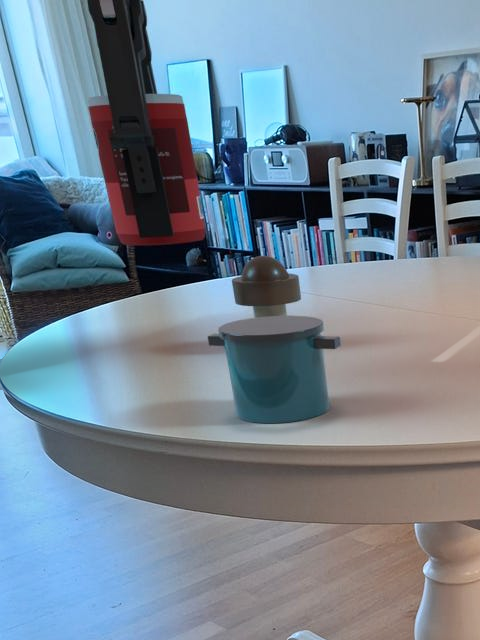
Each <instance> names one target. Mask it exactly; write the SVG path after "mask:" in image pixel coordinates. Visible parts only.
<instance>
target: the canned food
mask: <svg viewBox="0 0 480 640" xmlns="http://www.w3.org/2000/svg"><path fill="white" fill-rule="evenodd" d="M145 96H146V102H147V107H148V112H149V119H150V126H151V132H152V135H153V137H154V143H153V147H148V148H157V150H158V156H159V161H160V166H161V171H162V176H163V182H164V187H165V192H166V197H167V202H168V208H169V213H170V218H171V223H172V228H173V234H174V236H164V237H147V238H140V236H139V231H138V226H137V222H136V217H135V212H134V207H133V203H132V198H131V193H130V188H129V184H128V179H127V174H126V169H125V165H124V160H123V155H122V150H123V149H128V148H120V149H112V147H111V144H110V141H109V137H112V136H115V134H114V132H113V128H112V126H113V121H112V116H111V111H110V105H109V100H108V95H107V94H106V95H97V96H89V97H88V98H87V106H88V107H87V108H88V112H89V117H90V122H91V127H92V132H93V136H94V141H95V145H96V149H97V154H98V158H99V162H100V167H101V171H102V177H103V181H104V184H105V189H106V193H107V198H108V203H109V207H110V210H111V216H112V219H113V225H114V229H115V233H116V235H117V237H118V239H119V241H120V243H121V244H122V245H124V246H162V245H164V246H165V245H175V244H176V245H177V244H186V243H193V242H199V241H203V240H204V239H205V237H206V229H207V228H206V221H205V215H204V210H203V209H204V208H203V205H202V197H201V192H200V187H199V181H198V175H197V169H196V163H195V157H194V151H193V145H192V139H191V134H190V128H189V122H188V118H187V111H186V105H185V103H184V99H183V96H182V95H180V94H173V93H157V94H145Z"/></svg>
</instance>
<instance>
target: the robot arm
mask: <svg viewBox="0 0 480 640" xmlns="http://www.w3.org/2000/svg"><path fill="white" fill-rule="evenodd" d="M86 3H87V10H88V13H89V16H90V18H91V20H92V22H93V26H94V27H93V28H94V32H95V37H96V45H97V48H98V53H99V58H100V62H101V63H100V64H101V68H102V74H103V78H104V83H105V89H106V95H108V100H109V105H110V111H111V116H112V121H113V126H112V128H113V132H114V134H115V136H112V137H109V141H110V144H111V147H112V149H120V148H128V149H123V150H122V155H123V160H124V165H125V169H126V174H127V179H128V184H129V188H130V193H131V198H132V203H133V207H134V212H135V217H136V222H137V226H138V231H139V236H140V238H147V237H164V236H174V234H173V228H172V223H171V218H170V213H169V208H168V202H167V197H166V192H165V187H164V182H163V176H162V171H161V166H160V161H159V156H158V150H157V148H148V147H153V143H154V137H153V135H152V132H151V126H150V119H149V112H148V107H147V102H146V96H145V94H158V90H157V85H156V79H155V74H154V71H153V70H154V69H153V64H152V58H153V57H152V55H153V54H152V48H151V44H150V40H149V34H148V29H147V26H148V15H147V10H146V6H145V2H144V0H86Z"/></svg>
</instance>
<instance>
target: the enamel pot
mask: <svg viewBox="0 0 480 640" xmlns="http://www.w3.org/2000/svg"><path fill="white" fill-rule="evenodd" d="M324 330H325V323H324V320H323V319H320V318H318V317H313V316H307V315H306V316H305V315H287V316H269V317H258V318H254V317H252V318H244V319H239V320H235V321H230V322H227V323H225V324H222V325H220V326H219V327H218V329H217V332H218V333H212V334H210V335H207V341H208V346H209V347H224V350H225V351H224V352H225V357H226V362H227V363H226V364H227V369H228V374H229V380H230V386H231V393H232V399H233V403H234V409H235V415H236V417H237V418H238V419H240V420H241V421H246V422H249V423H257V424H282V423H283V424H284V423H292V422H293V423H294V422H300V421H305V420H309V419H312V418H313V419H314V418H316V417H319V416H321V415H323V414H324V413H325V414H326V412H328V411H329V409H330V408H331V407H330V398H329V390H328V379H327V374H326V363H325V354H324V350H336V349H339V348H340V347H341V346H342V345H341V337H340V336H339V335H338V336H335V335H322V333H323V332H324Z"/></svg>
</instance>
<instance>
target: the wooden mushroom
mask: <svg viewBox="0 0 480 640" xmlns="http://www.w3.org/2000/svg"><path fill="white" fill-rule="evenodd" d="M299 277H300V276H299V275H298V274H296V273H290V272H288V271H287V269H286V267H285V265H284V264H283V263H282V262H281V261H279V259H276V258H275V257H273V256H270V255H269V256H268V255H258V256H255V257H253V258H251V259H250V260H249V261H247V263H245V265H244V266H243V269H242V271H241V276H236V277H233V278H232V279H231V284H232V292H233V298H234V303H235V304H236V305H237V306H243V307H252V311H253V318H258V317H269V316H288V312H287V305H288V304H293V303H294V304H295V303H297V302H299V301H301V300H302V293H301V285H300V278H299Z"/></svg>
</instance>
